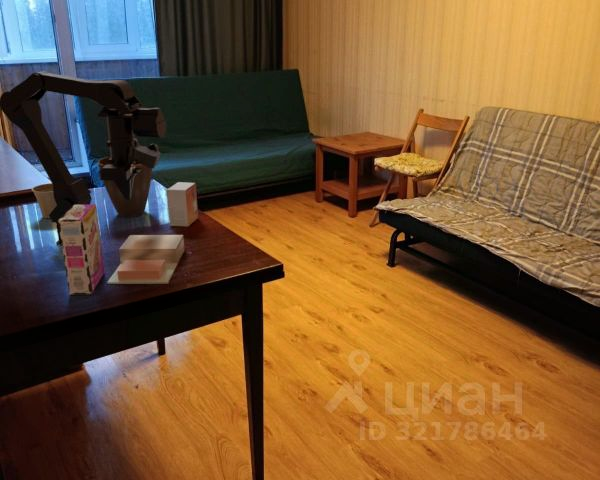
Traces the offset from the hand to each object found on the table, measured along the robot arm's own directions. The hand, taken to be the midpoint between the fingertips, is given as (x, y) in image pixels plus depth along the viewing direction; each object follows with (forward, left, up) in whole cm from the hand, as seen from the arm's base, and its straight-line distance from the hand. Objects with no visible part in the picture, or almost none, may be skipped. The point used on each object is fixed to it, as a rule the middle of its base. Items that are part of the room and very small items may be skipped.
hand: (128, 199), depth 138 cm
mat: (+7, -19, -12) cm, 23 cm away
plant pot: (-7, +24, -12) cm, 28 cm away
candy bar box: (-3, -23, -12) cm, 26 cm away
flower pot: (-29, +22, -12) cm, 39 cm away
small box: (+10, +16, -12) cm, 23 cm away
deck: (+7, -9, -12) cm, 17 cm away
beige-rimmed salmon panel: (+7, -19, -9) cm, 23 cm away
